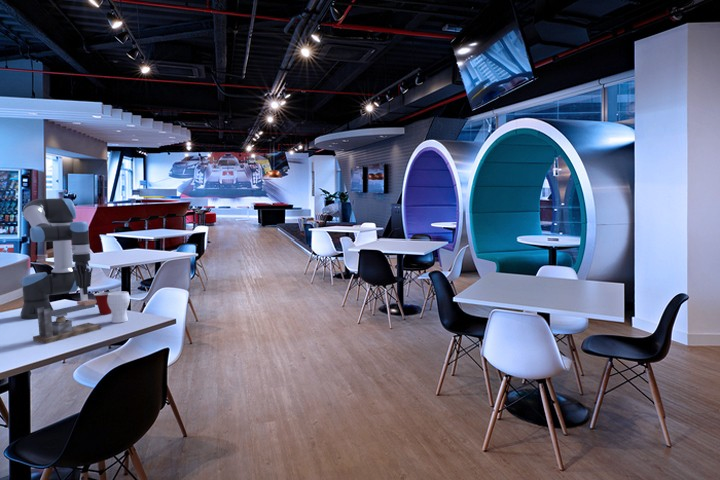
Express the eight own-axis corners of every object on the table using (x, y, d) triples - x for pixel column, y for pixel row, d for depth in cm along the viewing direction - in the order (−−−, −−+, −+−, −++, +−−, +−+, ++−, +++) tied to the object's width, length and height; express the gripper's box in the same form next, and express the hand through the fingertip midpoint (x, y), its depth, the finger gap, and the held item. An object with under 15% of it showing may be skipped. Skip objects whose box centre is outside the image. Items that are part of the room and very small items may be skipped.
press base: (45, 343, 212) (43, 311, 210) (33, 340, 216) (30, 308, 215) (100, 329, 235) (98, 299, 233) (88, 326, 239) (86, 297, 238)
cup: (104, 322, 247) (102, 294, 246) (122, 317, 257) (120, 290, 255) (117, 324, 242) (115, 296, 241) (135, 319, 252) (133, 292, 250)
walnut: (54, 324, 222) (53, 316, 221) (62, 322, 225) (62, 314, 225) (59, 325, 220) (58, 317, 219) (68, 323, 223) (67, 315, 223)
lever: (48, 320, 214) (48, 310, 214) (41, 318, 217) (40, 308, 217) (97, 309, 235) (96, 300, 234) (89, 308, 237) (89, 299, 237)
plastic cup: (111, 310, 273) (110, 289, 272) (119, 312, 266) (118, 292, 265) (91, 313, 265) (90, 292, 264) (99, 316, 258) (98, 295, 257)
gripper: (65, 253, 229) (68, 301, 231) (81, 254, 223) (85, 303, 225) (80, 251, 236) (83, 298, 238) (96, 252, 230) (100, 300, 232)
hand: (84, 300), depth 232 cm, fingers closed
